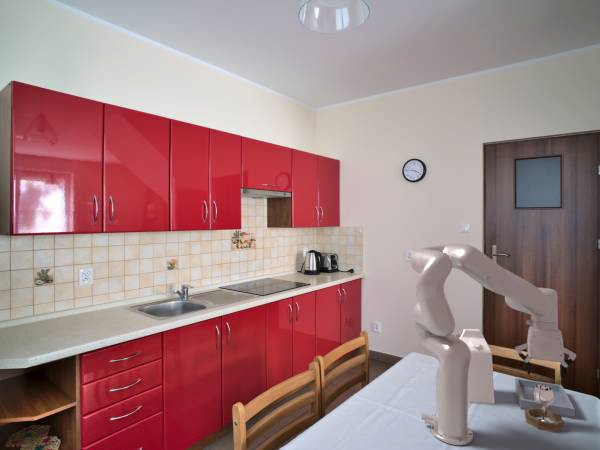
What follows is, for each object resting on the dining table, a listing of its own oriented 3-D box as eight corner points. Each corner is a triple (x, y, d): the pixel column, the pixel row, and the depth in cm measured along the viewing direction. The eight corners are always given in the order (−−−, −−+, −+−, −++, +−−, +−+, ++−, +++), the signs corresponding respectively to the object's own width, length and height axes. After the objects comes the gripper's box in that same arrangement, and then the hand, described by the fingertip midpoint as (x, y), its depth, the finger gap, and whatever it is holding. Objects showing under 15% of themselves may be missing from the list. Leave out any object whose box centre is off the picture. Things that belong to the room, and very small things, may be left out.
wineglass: (544, 428, 120) (544, 392, 120) (529, 419, 126) (529, 385, 126) (558, 426, 122) (558, 390, 122) (542, 417, 127) (542, 383, 127)
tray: (520, 409, 133) (520, 399, 133) (514, 386, 151) (514, 377, 151) (574, 419, 126) (574, 409, 126) (561, 394, 144) (561, 385, 144)
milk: (482, 389, 148) (482, 325, 148) (494, 403, 137) (494, 334, 137) (451, 388, 150) (451, 325, 149) (461, 402, 138) (461, 334, 138)
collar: (527, 426, 121) (527, 419, 121) (523, 411, 131) (523, 405, 131) (565, 434, 117) (565, 427, 117) (558, 418, 126) (558, 411, 126)
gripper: (516, 325, 124) (516, 375, 124) (578, 331, 116) (579, 384, 117) (513, 319, 131) (514, 367, 131) (572, 324, 123) (573, 374, 123)
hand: (545, 375), depth 124 cm, fingers open, 9 cm apart
